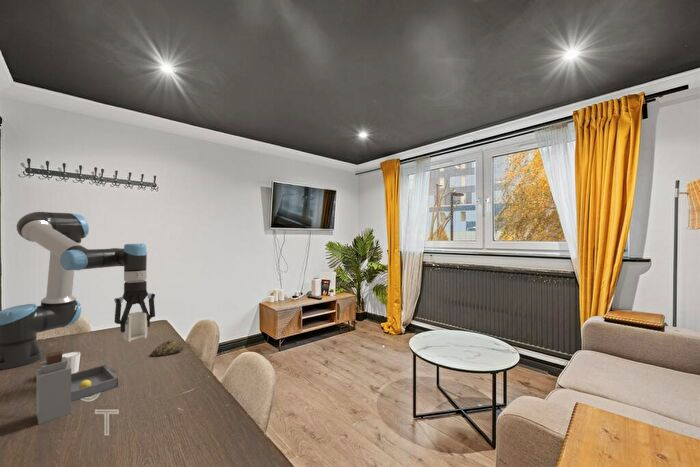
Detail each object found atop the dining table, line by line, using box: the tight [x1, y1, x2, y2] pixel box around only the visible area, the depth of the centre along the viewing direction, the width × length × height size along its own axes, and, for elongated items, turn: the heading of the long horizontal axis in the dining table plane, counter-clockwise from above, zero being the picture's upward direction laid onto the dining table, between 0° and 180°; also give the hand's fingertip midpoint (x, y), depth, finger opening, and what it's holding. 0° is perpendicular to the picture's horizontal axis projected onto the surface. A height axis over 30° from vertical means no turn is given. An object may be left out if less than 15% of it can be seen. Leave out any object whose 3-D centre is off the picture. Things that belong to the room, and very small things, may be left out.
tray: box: [71, 364, 119, 403], centre depth 104 cm, size 18×16×3 cm
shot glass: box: [62, 351, 81, 374], centre depth 116 cm, size 7×7×7 cm
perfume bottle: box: [35, 350, 72, 425], centre depth 89 cm, size 7×7×18 cm
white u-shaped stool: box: [126, 310, 148, 343], centre depth 121 cm, size 6×6×10 cm
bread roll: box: [150, 339, 184, 357], centre depth 138 cm, size 13×12×5 cm
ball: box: [79, 380, 91, 389], centre depth 102 cm, size 3×3×3 cm
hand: (135, 337), depth 121 cm, fingers closed on white u-shaped stool, 6 cm apart
